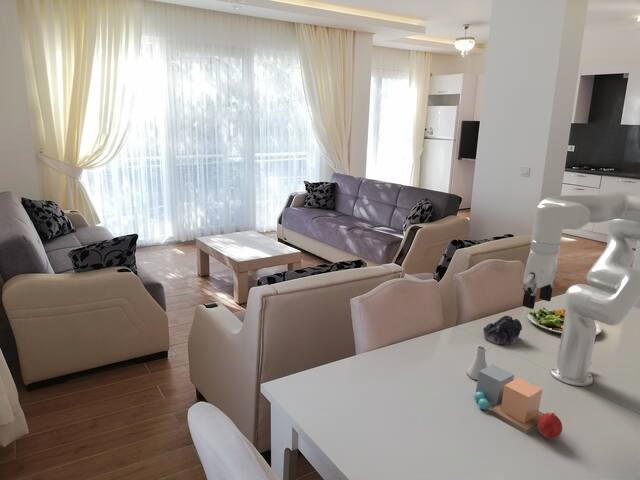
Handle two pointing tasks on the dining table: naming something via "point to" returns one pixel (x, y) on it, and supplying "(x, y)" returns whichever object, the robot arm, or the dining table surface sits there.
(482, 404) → the teal marble
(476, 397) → the teal marble
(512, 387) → the peach cube
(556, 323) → the plate of food
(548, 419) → the red rounded lump
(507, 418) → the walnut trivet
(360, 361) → the dining table surface
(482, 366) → the flask
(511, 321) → the crystal cluster
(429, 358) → the dining table surface
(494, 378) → the gray cube
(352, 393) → the dining table surface
